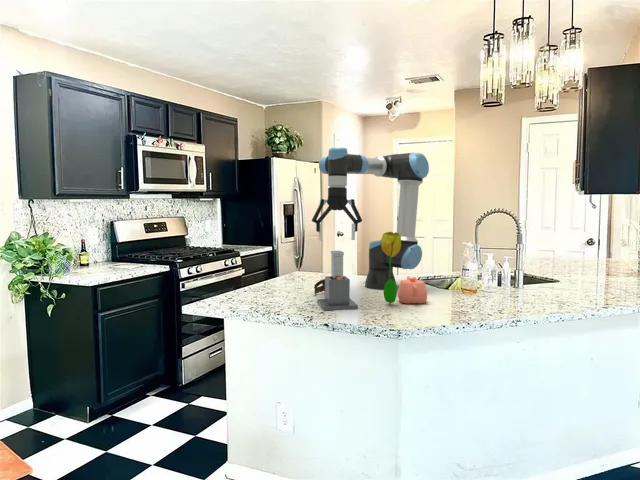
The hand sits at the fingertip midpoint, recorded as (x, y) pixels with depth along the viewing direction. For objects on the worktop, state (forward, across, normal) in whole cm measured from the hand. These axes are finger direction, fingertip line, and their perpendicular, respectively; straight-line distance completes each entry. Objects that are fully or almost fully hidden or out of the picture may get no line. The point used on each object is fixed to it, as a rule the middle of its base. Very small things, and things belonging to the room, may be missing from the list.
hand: (336, 240), depth 193 cm
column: (+25, 0, 0) cm, 25 cm away
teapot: (+27, -33, -2) cm, 43 cm away
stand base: (+27, 0, 0) cm, 27 cm away
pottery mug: (+27, 0, -23) cm, 35 cm away
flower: (+27, -22, +2) cm, 35 cm away
